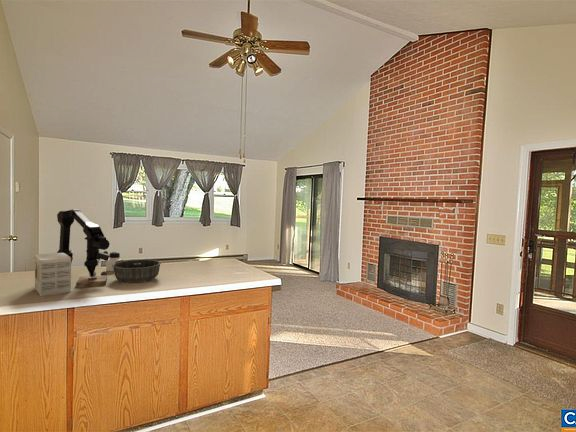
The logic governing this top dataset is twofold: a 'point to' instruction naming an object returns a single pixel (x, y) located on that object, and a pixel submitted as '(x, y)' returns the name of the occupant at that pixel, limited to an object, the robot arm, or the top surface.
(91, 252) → the robot arm
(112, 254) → the medicine bottle
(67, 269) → the supplement box
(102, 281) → the walnut board
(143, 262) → the bundt pan
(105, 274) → the dark gray rubber ball
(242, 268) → the top surface
